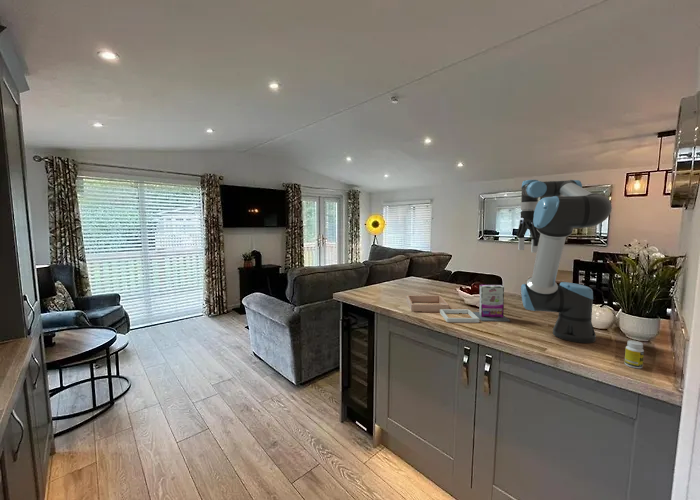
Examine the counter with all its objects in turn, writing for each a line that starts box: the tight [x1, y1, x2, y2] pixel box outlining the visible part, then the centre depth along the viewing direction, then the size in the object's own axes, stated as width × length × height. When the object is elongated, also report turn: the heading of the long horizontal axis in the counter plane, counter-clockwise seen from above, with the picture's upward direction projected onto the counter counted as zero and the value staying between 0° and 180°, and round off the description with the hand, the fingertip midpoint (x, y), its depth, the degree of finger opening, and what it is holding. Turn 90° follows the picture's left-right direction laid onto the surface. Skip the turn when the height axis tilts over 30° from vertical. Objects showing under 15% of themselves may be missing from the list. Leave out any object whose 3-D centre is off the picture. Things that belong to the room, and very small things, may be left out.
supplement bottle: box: [624, 339, 645, 370], centre depth 107 cm, size 5×5×8 cm
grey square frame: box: [439, 308, 480, 323], centre depth 163 cm, size 16×16×2 cm
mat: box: [472, 311, 511, 322], centre depth 163 cm, size 14×14×1 cm
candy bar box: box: [478, 284, 505, 317], centre depth 162 cm, size 11×5×16 cm, turn 80°
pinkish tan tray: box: [406, 294, 450, 313], centre depth 184 cm, size 22×21×4 cm
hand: (527, 251), depth 161 cm, fingers open, 13 cm apart
